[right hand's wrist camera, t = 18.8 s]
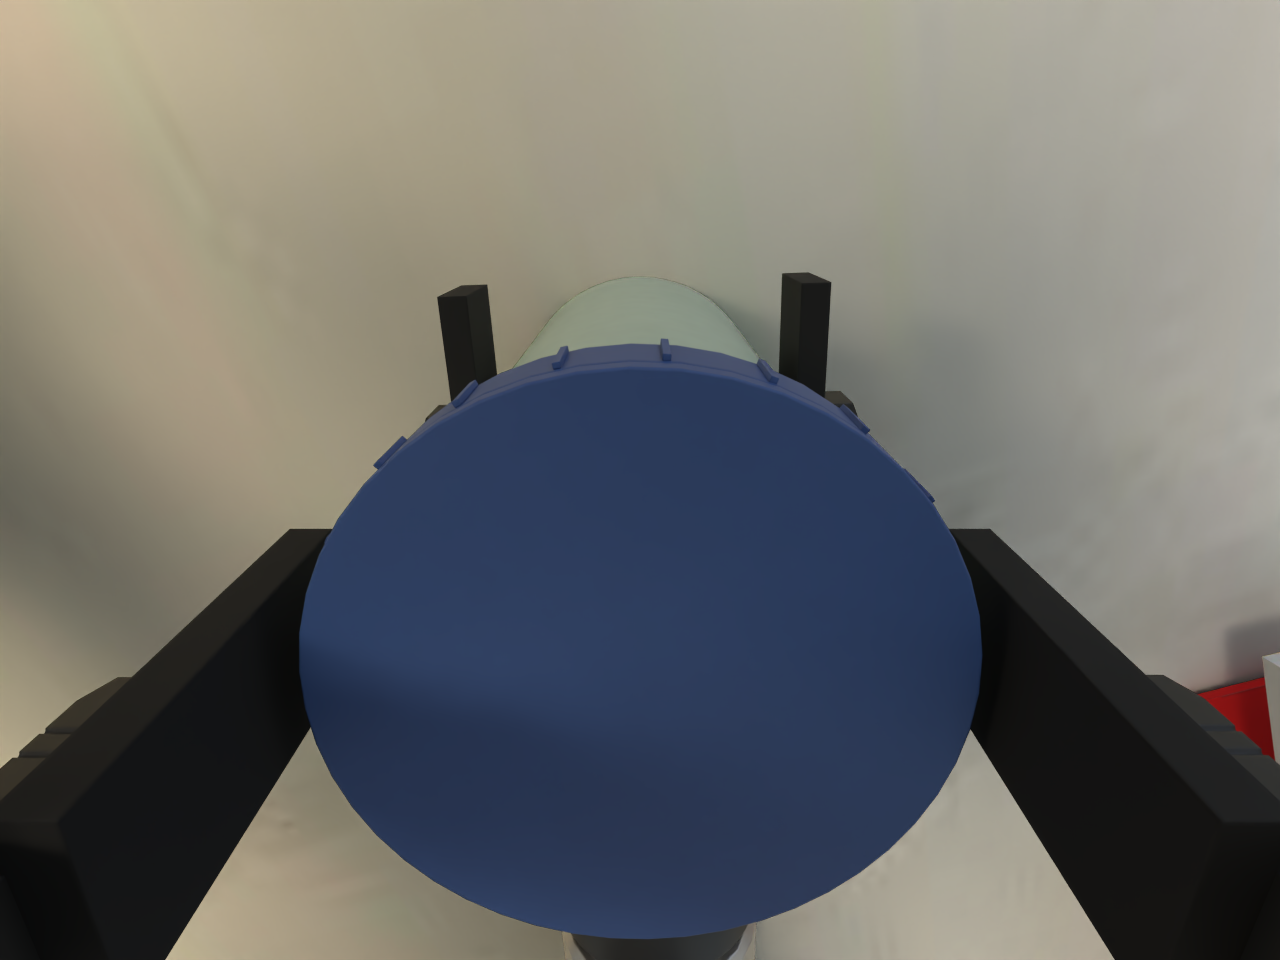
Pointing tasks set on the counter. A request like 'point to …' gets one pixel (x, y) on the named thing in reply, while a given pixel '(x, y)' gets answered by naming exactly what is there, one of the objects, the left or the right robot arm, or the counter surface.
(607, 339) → the jar
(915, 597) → the lid
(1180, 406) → the counter surface
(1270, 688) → the toy
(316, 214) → the counter surface
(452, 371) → the left robot arm
